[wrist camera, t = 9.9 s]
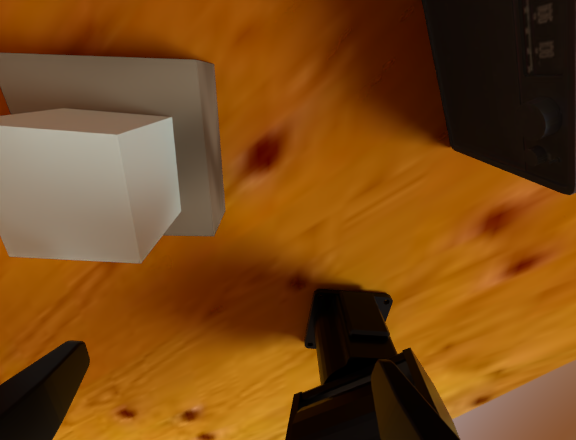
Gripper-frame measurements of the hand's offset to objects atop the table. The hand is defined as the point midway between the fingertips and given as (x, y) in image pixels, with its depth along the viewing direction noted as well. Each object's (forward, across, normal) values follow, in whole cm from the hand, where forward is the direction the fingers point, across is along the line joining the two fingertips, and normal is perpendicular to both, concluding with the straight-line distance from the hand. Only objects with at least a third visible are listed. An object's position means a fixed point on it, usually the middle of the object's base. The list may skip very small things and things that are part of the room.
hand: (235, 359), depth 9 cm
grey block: (+12, +7, -3) cm, 15 cm away
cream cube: (+8, +7, -3) cm, 11 cm away
